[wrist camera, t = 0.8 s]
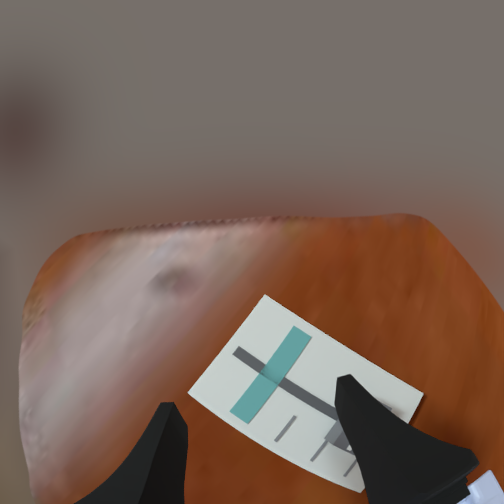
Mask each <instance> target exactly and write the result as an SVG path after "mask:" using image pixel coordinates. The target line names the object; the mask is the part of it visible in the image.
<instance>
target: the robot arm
mask: <svg viewBox="0 0 504 504" xmlns="http://www.w3.org/2000/svg"><path fill="white" fill-rule="evenodd" d="M334 405H335V408H336V412H337V415H338V418H339V421H340V424H341V426H342V428H343V431H344V433H345V435H346V437H347V440H348V442H349V444H350V446H351V448H352V451H353V453H354V455H355V457H356V460H357V462H358V465H359V468H360V471H361V475H362V478H363V481H364V485H365V489H366V492H367V497H368V501H369V504H504V492H503V491H502V489H501V487H500V485H499V483H498V482H497V480H496V478H495V476H494V475H493V473H492V471H491V470H488V471H487V472H486V473H485V474H483V475H482V476H481V477H480V478H478V479H477V480H476V481H475V482H473V483H472V484H471V485H469V486H468V487H467V486H466V484H465V483H467V482H468V480H467V478H466V477H465V476H467V475H468V474H469V473H470V472H471V471H472V470H474V469H475V468H476V467H477V466H478V465H479V461H478V459H477V458H476V456H475V454H474V453H473V452H472V451H471V450H470V449H466V448H462V447H459V446H455V445H452V444H449V443H446V442H443V441H441V440H438V439H436V438H434V437H432V436H430V435H427V434H425V433H423V432H421V431H420V430H418V429H416V428H414V427H413V426H411V425H409V424H408V423H406V422H405V421H403V420H402V419H400V418H399V417H397V416H396V415H395V414H394V413H392V412H391V411H390V410H388V409H387V408H386V407H385V406H383V405H382V404H381V403H380V402H379V401H378V400H377V399H375V398H374V397H373V396H372V395H371V394H370V393H369V392H368V391H367V390H366V389H365V388H364V387H363V386H362V385H361V384H360V383H359V382H358V381H357V380H356V379H355V378H354V377H353V376H352V375H351V374H347V375H344V376H340V377H337V382H336V392H335V401H334ZM187 450H188V426H187V424H186V423H185V421H184V419H183V418H182V416H181V414H180V413H179V411H178V409H177V407H176V405H175V404H174V402H163V403H160V405H159V406H158V408H157V410H156V412H155V414H154V416H153V417H152V419H151V421H150V423H149V424H148V426H147V428H146V429H145V431H144V433H143V434H142V436H141V438H140V439H139V441H138V442H137V444H136V445H135V447H134V448H133V449H132V451H131V452H130V454H129V455H128V456H127V458H126V459H125V460H124V461H123V463H122V464H121V465H120V466H119V467H118V468H117V470H116V471H115V472H114V473H113V474H112V475H111V476H110V477H109V478H108V479H107V480H106V481H105V482H103V483H102V484H101V485H100V486H99V487H97V488H96V489H95V490H94V491H92V492H91V493H90V494H88V495H87V496H85V497H84V498H82V499H81V500H79V501H77V502H76V503H74V504H184V480H185V470H186V460H187Z"/></svg>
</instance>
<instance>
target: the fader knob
mask: <svg viewBox="0 0 504 504" xmlns="http://www.w3.org/2000/svg"><path fill="white" fill-rule="evenodd" d="M379 402H380V401H379ZM380 403H381V404H382V405H383V406H385V407H386V408H387V409H388V410H390V411H391V410H392V408H391V407H389V406H387V405H385V404H383V403H382V402H380ZM324 439H325V440H327V441H328V442H329V443H331V444H332V445H334V446H336V447H338V448H340V449H342V450H344V451H346V452H348V453H350V454H352V455H354V453H353V451H352V448H351V446H350V444H349V442H348V440H347V437H346V435H345V433H344V431H343V428H342V426H341V424H340V421H339V418H338V419H337V421H336V422H335V424H334V425H333V427H332V428H331V429H330V431H329V432H328V434H327V435H326V436H325V438H324ZM354 456H355V455H354Z"/></svg>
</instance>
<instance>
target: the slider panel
mask: <svg viewBox="0 0 504 504" xmlns="http://www.w3.org/2000/svg"><path fill="white" fill-rule="evenodd" d="M347 374H351V375H352V376H353V377H354V378H355V379H356V380H357V381H358V382H359V383H360V384H361V385H362V386H363V387H364V388H365V389H366V390H367V391H368V392H369V393H370V394H371V395H372V396H373V397H374V398H375V399H377V400H378V401H380V402H382V403H383V404H385V405H387V406H389V407H391V408H392V410H391V412H392V413H394V414H395V415H396V416H397V417H399V418H400V419H402V420H403V421H405V422H406V423H409V421H410V419H411V417H412V415H413V414H414V412H415V410H416V408H417V406H418V404H419V402H420V400H421V398H422V396H423V393H422V392H420V391H418V390H417V389H415V388H413V387H411V386H410V385H408V384H406V383H405V382H403V381H401V380H400V379H398V378H396V377H395V376H393V375H391V374H390V373H388V372H386V371H385V370H383V369H381V368H380V367H378V366H376V365H375V364H373V363H371V362H370V361H368V360H366V359H365V358H363V357H362V356H360V355H358V354H357V353H355V352H354V351H352V350H350V349H349V348H347V347H345V346H344V345H342V344H341V343H339V342H338V341H336V340H334V339H333V338H331V337H330V336H328V335H326V334H325V333H323V332H322V331H320V330H319V329H317V328H315V327H314V326H312V325H311V324H309V323H308V322H306V321H305V320H303V319H301V318H300V317H298V316H297V315H295V314H294V313H292V312H291V311H289V310H288V309H286V308H285V307H283V306H282V305H280V304H279V303H277V302H276V301H274V300H272V299H271V298H269V297H268V296H266V295H264V296H263V298H262V299H261V300H260V301H259V303H258V304H257V305H256V307H255V308H254V309H253V311H252V312H251V313H250V315H249V316H248V317H247V319H246V320H245V321H244V322H243V324H242V325H241V326H240V328H239V329H238V330H237V332H236V333H235V334H234V335H233V337H232V338H231V339H230V341H229V342H228V343H227V344H226V346H225V347H224V348H223V349H222V351H221V352H220V353H219V354H218V356H217V357H216V358H215V360H214V361H213V362H212V363H211V365H210V366H209V367H208V368H207V369H206V371H205V372H204V373H203V374H202V376H201V377H200V378H199V379H198V381H197V382H196V383H195V384H194V385H193V387H192V388H191V389H190V390H189V392H188V394H190V395H191V396H192V397H193V398H195V399H196V400H197V401H198V402H200V403H201V404H202V405H204V406H205V407H206V408H208V409H209V410H210V411H212V412H213V413H214V414H216V415H217V416H218V417H220V418H221V419H223V420H224V421H226V422H227V423H228V424H230V425H231V426H233V427H234V428H236V429H237V430H239V431H240V432H242V433H243V434H245V435H246V436H248V437H249V438H251V439H253V440H254V441H256V442H257V443H259V444H261V445H262V446H264V447H266V448H267V449H269V450H271V451H272V452H274V453H276V454H278V455H279V456H281V457H283V458H285V459H287V460H289V461H290V462H292V463H294V464H296V465H298V466H300V467H302V468H304V469H306V470H308V471H310V472H312V473H314V474H316V475H318V476H320V477H323V478H325V479H327V480H329V481H332V482H334V483H336V484H339V485H341V486H343V487H346V488H348V489H351V490H354V491H356V492H359V493H361V492H362V491H363V489H364V488H365V485H364V481H363V478H362V475H361V471H360V468H359V465H358V462H357V460H356V457H355V456H354V455H352V454H350V453H348V452H346V451H344V450H342V449H340V448H338V447H336V446H334V445H332V444H331V443H329V442H328V441H327V440H325V439H324V438H325V436H326V435H327V434H328V432H329V431H330V429H331V428H332V427H333V425H334V424H335V422H336V421H337V419H338V415H337V412H336V408H335V405H334V401H335V392H336V382H337V377H340V376H344V375H347Z"/></svg>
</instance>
